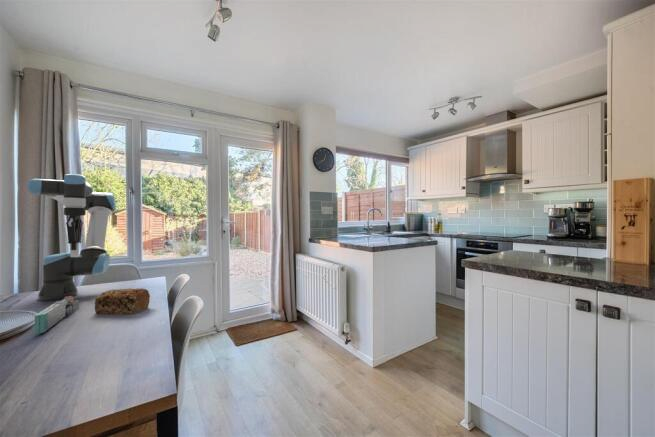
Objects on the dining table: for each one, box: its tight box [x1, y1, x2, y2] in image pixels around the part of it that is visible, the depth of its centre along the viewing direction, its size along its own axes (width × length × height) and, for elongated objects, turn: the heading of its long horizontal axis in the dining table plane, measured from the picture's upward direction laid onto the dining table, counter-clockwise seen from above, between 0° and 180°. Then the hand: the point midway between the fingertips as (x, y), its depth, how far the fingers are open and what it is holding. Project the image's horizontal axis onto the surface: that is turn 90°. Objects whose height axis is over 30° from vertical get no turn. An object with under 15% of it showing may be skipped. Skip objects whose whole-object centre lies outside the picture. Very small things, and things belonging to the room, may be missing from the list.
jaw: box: [40, 298, 71, 334], centre depth 108 cm, size 23×2×7 cm, turn 27°
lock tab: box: [63, 296, 75, 303], centre depth 120 cm, size 3×3×3 cm
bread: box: [94, 287, 151, 315], centre depth 123 cm, size 19×11×10 cm, turn 88°
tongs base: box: [34, 299, 80, 337], centre depth 111 cm, size 31×4×7 cm, turn 28°
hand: (74, 256), depth 126 cm, fingers closed
